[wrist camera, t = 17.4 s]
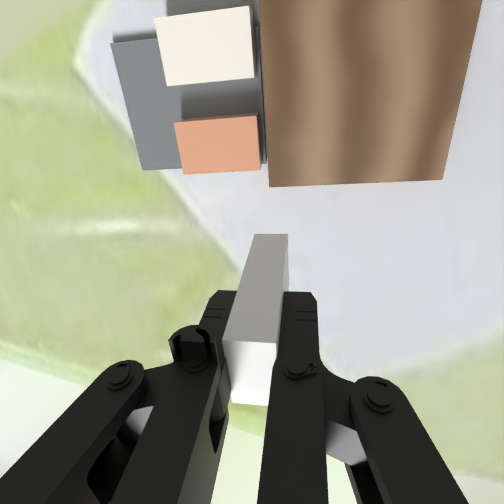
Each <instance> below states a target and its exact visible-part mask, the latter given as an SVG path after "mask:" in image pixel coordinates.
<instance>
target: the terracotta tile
mask: <svg viewBox="0 0 504 504" xmlns="http://www.w3.org/2000/svg"><path fill="white" fill-rule="evenodd" d="M174 128H175V133H176V138H177V143H178V148H179V153H180V159H181V164H182V169H183V174H199V173H217V172H235V171H253V170H260V169H261V166H262V151H261V136H260V122H259V113H252V114H240V115H228V116H215V117H203V118H191V119H181V120H179V121H176V122H174Z"/></svg>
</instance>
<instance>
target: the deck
mask: <svg viewBox="0 0 504 504" xmlns="http://www.w3.org/2000/svg"><path fill="white" fill-rule="evenodd" d="M481 4H482V0H259V9H260V27H261V45H262V63H263V81H264V99H265V117H266V135H267V153H268V171H269V187H287V186H310V185H333V184H356V183H379V182H402V181H425V180H442V179H443V174H444V170H445V165H446V161H447V156H448V152H449V147H450V143H451V138H452V134H453V129H454V125H455V120H456V116H457V111H458V107H459V103H460V98H461V94H462V89H463V85H464V80H465V76H466V71H467V67H468V62H469V58H470V53H471V49H472V44H473V40H474V35H475V31H476V26H477V22H478V18H479V13H480V9H481Z"/></svg>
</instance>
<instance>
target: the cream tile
mask: <svg viewBox="0 0 504 504" xmlns="http://www.w3.org/2000/svg"><path fill="white" fill-rule="evenodd" d="M154 22H155V27H156V32H157V38H158V43H159V48H160V53H161V58H162V63H163V68H164V73H165V79H166V84H167V86H175V85H185V84H195V83H206V82H216V81H226V80H236V79H246V78H256V77H257V69H256V54H255V40H254V25H253V11H252V9H251V8H250V6H243V7H235V8H228V9H220V10H213V11H205V12H197V13H190V14H182V15H175V16H167V17H160V18H154Z"/></svg>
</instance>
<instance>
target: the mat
mask: <svg viewBox="0 0 504 504" xmlns="http://www.w3.org/2000/svg"><path fill="white" fill-rule="evenodd" d="M254 40H255V54H256V69H257V77H256V78H246V79H236V80H226V81H216V82H206V83H195V84H185V85H175V86H167V84H166V79H165V73H164V68H163V63H162V58H161V53H160V48H159V43H158V38H151V39H143V40H134V41H126V42H117V43H110V44H111V48H112V52H113V56H114V60H115V64H116V68H117V72H118V76H119V80H120V84H121V88H122V92H123V95H124V99H125V103H126V107H127V111H128V115H129V119H130V123H131V127H132V131H133V135H134V139H135V142H136V146H137V150H138V154H139V158H140V162H141V166H142V170H159V169H178V168H182V164H181V159H180V153H179V148H178V143H177V138H176V133H175V128H174V122H176V121H179V120H181V119H191V118H203V117H215V116H228V115H240V114H252V113H259V122H260V136H261V151H262V164H266V146H265V129H264V112H263V94H262V77H261V60H260V43H259V27H258V26H255V27H254Z"/></svg>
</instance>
